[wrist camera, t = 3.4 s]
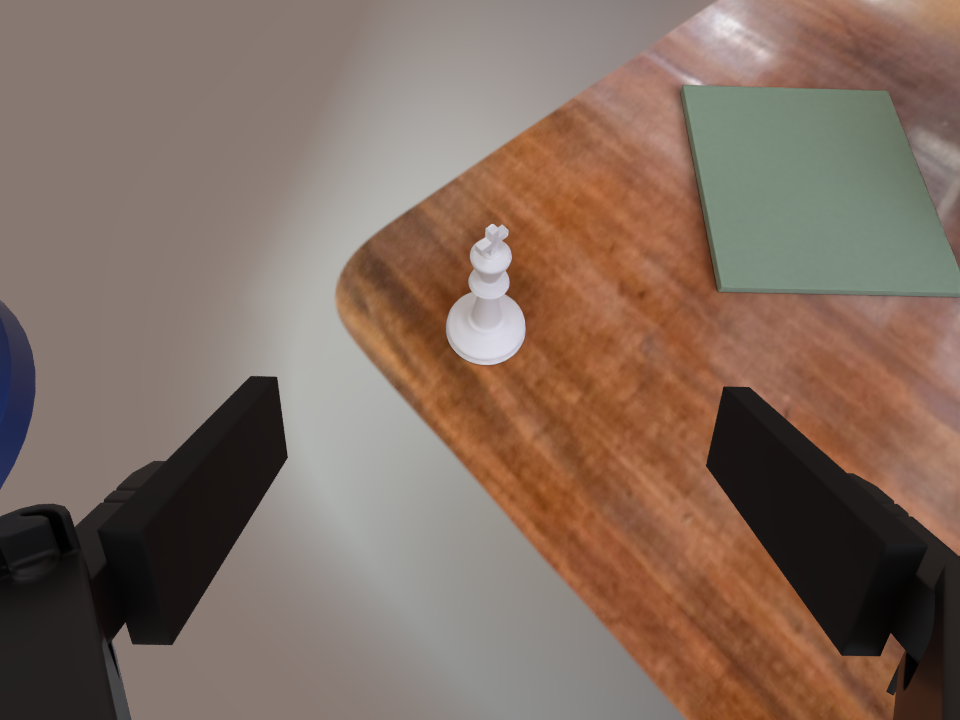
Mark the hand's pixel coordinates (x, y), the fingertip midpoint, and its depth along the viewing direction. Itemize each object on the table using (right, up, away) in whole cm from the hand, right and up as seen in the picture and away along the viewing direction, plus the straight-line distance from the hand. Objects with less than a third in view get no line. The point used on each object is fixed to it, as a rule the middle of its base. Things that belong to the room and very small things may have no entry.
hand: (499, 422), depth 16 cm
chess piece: (0, +4, +17) cm, 17 cm away
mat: (+23, +14, +22) cm, 35 cm away
